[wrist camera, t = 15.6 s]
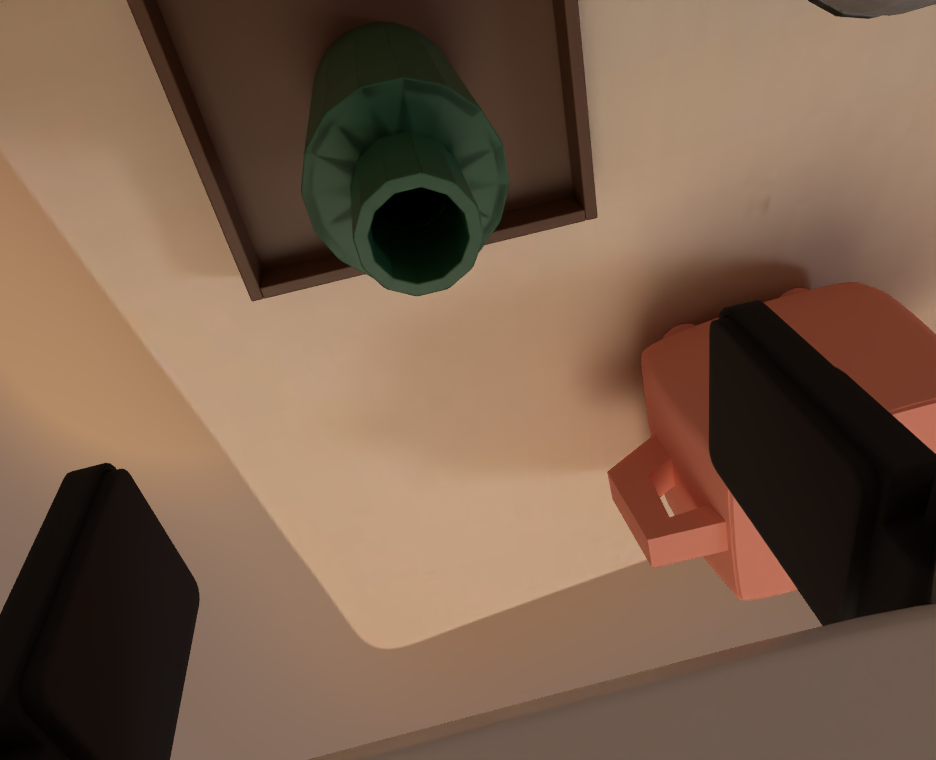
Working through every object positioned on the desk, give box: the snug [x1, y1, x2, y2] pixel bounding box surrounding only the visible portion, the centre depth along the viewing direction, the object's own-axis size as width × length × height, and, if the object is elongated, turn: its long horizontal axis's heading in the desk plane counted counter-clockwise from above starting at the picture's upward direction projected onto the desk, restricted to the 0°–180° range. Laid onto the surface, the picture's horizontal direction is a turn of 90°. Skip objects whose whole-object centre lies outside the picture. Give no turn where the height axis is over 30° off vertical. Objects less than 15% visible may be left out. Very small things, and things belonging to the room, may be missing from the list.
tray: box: [127, 0, 597, 301], centre depth 32 cm, size 17×14×3 cm
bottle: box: [301, 22, 509, 296], centre depth 26 cm, size 6×6×16 cm
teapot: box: [608, 282, 936, 600], centre depth 39 cm, size 22×13×14 cm, turn 105°
